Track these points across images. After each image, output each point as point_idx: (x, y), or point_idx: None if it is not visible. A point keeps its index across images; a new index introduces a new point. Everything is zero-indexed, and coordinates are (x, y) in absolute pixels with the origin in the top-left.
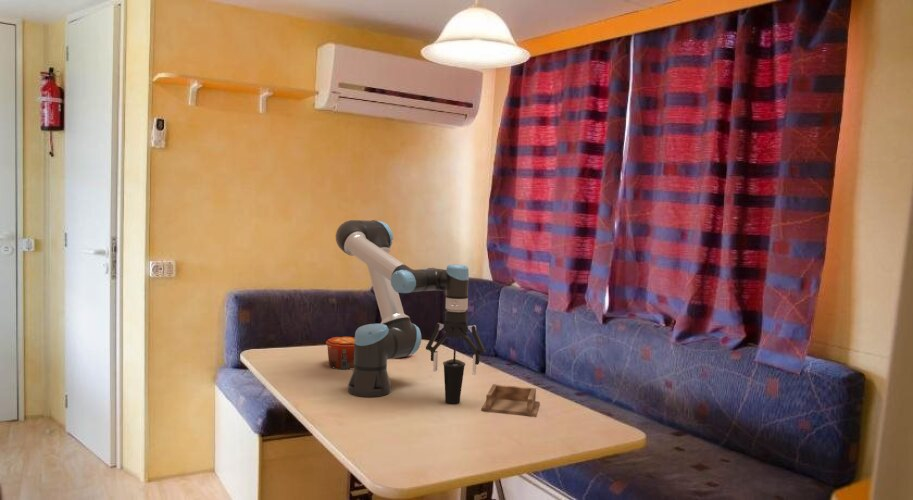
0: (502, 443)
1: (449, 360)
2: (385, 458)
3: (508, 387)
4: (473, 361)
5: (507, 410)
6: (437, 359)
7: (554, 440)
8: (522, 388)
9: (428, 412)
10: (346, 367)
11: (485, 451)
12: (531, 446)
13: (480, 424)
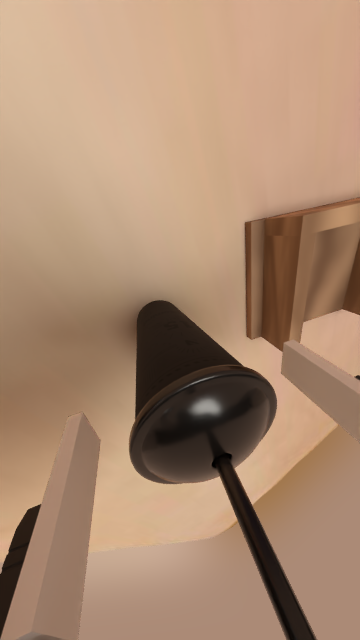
0: (293, 427)
1: (190, 478)
2: (186, 524)
3: (352, 222)
4: (348, 428)
5: (306, 320)
6: (64, 491)
7: None
8: None
9: None
10: None
11: (276, 453)
12: (324, 413)
13: None
